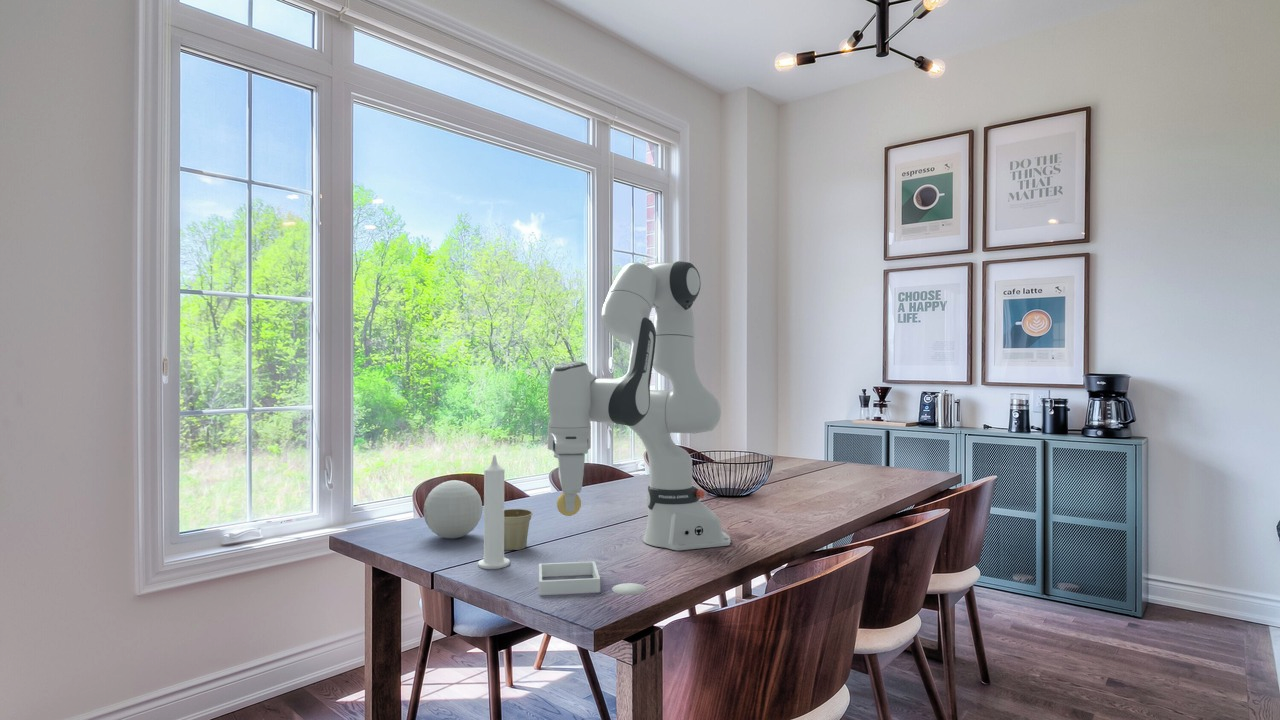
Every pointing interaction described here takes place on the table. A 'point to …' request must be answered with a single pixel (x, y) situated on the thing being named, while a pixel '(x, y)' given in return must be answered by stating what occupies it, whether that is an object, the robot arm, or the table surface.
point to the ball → (562, 505)
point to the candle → (494, 518)
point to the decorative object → (452, 509)
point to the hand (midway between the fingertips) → (569, 507)
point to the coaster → (629, 589)
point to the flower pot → (516, 528)
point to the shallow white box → (569, 584)
